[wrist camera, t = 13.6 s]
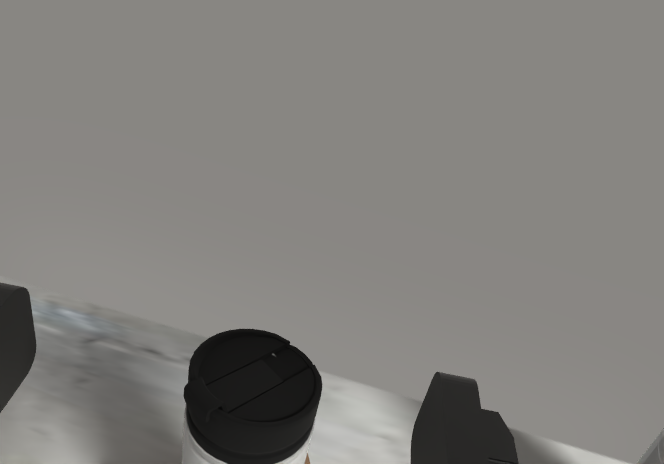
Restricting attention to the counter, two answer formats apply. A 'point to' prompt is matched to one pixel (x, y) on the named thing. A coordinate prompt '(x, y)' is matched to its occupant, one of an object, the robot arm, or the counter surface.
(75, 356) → the counter surface
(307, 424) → the travel mug
